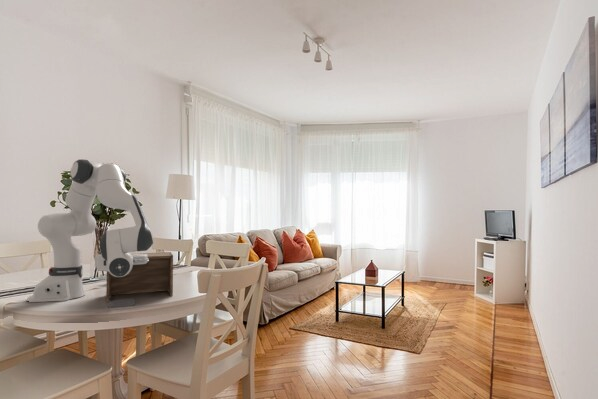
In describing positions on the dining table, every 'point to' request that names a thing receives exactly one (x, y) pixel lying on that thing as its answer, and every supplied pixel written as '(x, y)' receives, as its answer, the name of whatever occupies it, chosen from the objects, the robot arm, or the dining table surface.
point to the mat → (121, 303)
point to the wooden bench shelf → (144, 277)
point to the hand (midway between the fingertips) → (122, 257)
